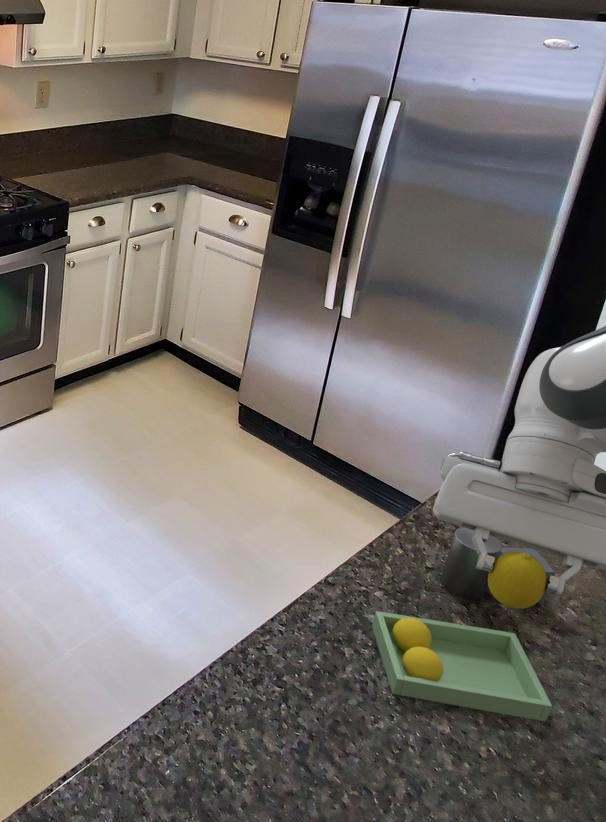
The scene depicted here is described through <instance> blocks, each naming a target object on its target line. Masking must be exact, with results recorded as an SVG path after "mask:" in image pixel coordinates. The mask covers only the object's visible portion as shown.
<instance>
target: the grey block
mask: <svg viewBox="0 0 606 822" xmlns="http://www.w3.org/2000/svg"><path fill="white" fill-rule="evenodd" d="M508 552H523V553H528V554H529V555H531V556H533V557H534V558H536V559H537V560H538V561H539V562H540V563H541V565H542V566H543V568H544V570H545V573H546V579H547V577H548V576H550V575H552V576H556V571H555V569H553V567H552V566H550V565H549V564H548V562H547V561H546V559H544V558H543V556H542V555H540V553H539V552H538V550H535V549H532V548H529V547H507V546H505V547H503V546H502V549H501V552H500V555H499V557H500V556H501V555H503V554H505V553H508ZM499 557H498V558H499ZM546 585H547V583H546ZM547 594H548V592H546V591H544V594H543V596H542V598H541V599H540V600H539V601H538V602H537V603H539V604H540V606H543V604H544V602H545V600H546V598H547Z"/></svg>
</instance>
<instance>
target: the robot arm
mask: <svg viewBox="0 0 606 822" xmlns="http://www.w3.org/2000/svg"><path fill="white" fill-rule="evenodd" d="M518 392H519V393H518V396H517V399H516V403H515V406H514V420H515V421H514V426H513V427H512V428H513V429H512V430H511V431H510V433H509V434H508V436H507V438H506V442H505V446H504V450H503V455H502V458H501V460H498V459H495V458H494V459H493V458H490V457H485V456H479V455H476V454H473V453H471V452H467V451H459V453H458V452H453V453H450V454H448V455H446V456H445V457H443V459H442V463H441V465H440V470H439V474H440V477H441V479H442V480H443V482H442V484H441V486H440V488H439V490H438V493H437V495H436V498H435V501H434V504H433V507H432V512H433V514H434V516H435V517H436V519H437V520H438V521H441V522H445V523H447V524H448V523H449V524H451V525H455V526H458V527H460V528H461V527H464V528H467V529H471V530H474V533H473V537H472V540H473V543H474V545H475V548H476V551H477V553H478V555H479V558H478V562H477V566H476V569H479V570H482V571H485V572H489V573H490V572H492V569H493V565H492V564H493V563H494V561H495V557H493V556H490V555H488V554H487V551H486V548H485V545H484V543H483V542H486V541H487V540H488V537H489V535H490V536H493V537H496V538H497V539H499V540H504V541H507V542H510V543H513V544H516V545H520V546H523V547H525V548H532V549H535V550H536V551H539V552H543V553H545V554H549V555H552V556H555V557H559V558H562V560H563V561H562V565H561V567H562V568H564V569H566V570H565V571H564V572H563V573H561V574H560V575H558V576H556V575H554V576H552V575H550V576H548V577H547V582H546V583H547V585H546V588H545V591H546V592H547V593H549V594H553V595H555V596H559V597H560V596H562V594H563V592H564V588H565V584H566V582H567V581H568V580H569V579H570V578H572V577H573V576H574V575H576V573H578V572H579V571H580V570H581V569H582V566H583V565H585V566H587V567H590V568H594V569H597V570H601V571H604V572H606V470H605V469H603V468H601V467H600V466H598V465H596V464H595V462H596V458H597V456H598V455H599V454H601V453H606V325H604V326H602V327H600V328H598V329H596V330H593V331H591V332H589V333H586V334H584V335H582V336H580V337H577V338H575V339H573V340H570V341H569V342H567V343H565V344H563V345H562V346H559V347H554V348H549V349H547V350H544V351H543V352H540V353H539V354H538V355H537V356H536V357H535V359H534V360H533V361H532V362H531V364H530V365H529V367H528V368H527V371H526V372H525V375H524V377H523V380H522V383H521V386H520V388H519V391H518Z"/></svg>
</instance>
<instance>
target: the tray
mask: <svg viewBox="0 0 606 822" xmlns="http://www.w3.org/2000/svg"><path fill="white" fill-rule="evenodd" d="M403 618H414V619H417V620H419V621H421V622H422V623H424V624H425V625H426V626H427V627H428V629H429V630H430V633H431V636H432V642H431V645H430V647H429V648H428V649H430V650H432V651H433V652H435V653H436V654H437V655H438V656H439V658H440V659H441V661H442V664H443V675H442V677H441V678H440V680H439V681H432V680H426V679H421V678H415V677H409V676H408V675H407V674H406V672H405V671H404V668H403V664H402V660H403V656H404V654H405V653H406V651H404V650H402V649H401V648H400V647H399V646H398V645H397V644H396V642H395V641H394V638H393V627H394V625H395V624H396V623H397V622H398V621H399V620H401V619H403ZM371 628H372V630H373V634H374V637H375V641H376V643H377V647H378V651H379V655H380V657H381V661H382V664H383V668H384V671H385V674H386V676H387V680H388V683H389V687H390V690H391V694H392V695H397V696H402V697H407V698H413V699H420V700H424V701H430V702H436V703H441V704H445V705H451V706H452V705H453V706H459V707H463V708H469V709H475V710H480V711H486V712H489V713H490V712H491V713H497V714H503V715H506V716H511V717H512V716H513V717H519V718H523V719H530V720H533V721H535V720H536V721H539V722H547V720H548V717H549V716H550V713H551V711H552V708H553V705H552V703H551V701H550V699H549V697H548V695H547V693H546V691H545V689H544V687H543V685H542V683H541V681H540V679H539V677H538V675H537V673H536V671H535V670H534V668H533V665H532V663H531V662H530V660H529V658H528V655H527V654H526V652H525V649H523V647H522V645H521V642H520V641H519V638H518V637H517V635H516V633H515V632H509V631H504V630H497V629H491V628H484V627H478V626H472V625H466V624H459V623H453V622H448V621H447V622H446V621H441V620H434V619H430V618H429V619H428V618H423V617H415V616H409V615H404V614H398V613H391V612H384V611H377V610H376V611H375V612H374V616H373V619H372V624H371Z"/></svg>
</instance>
